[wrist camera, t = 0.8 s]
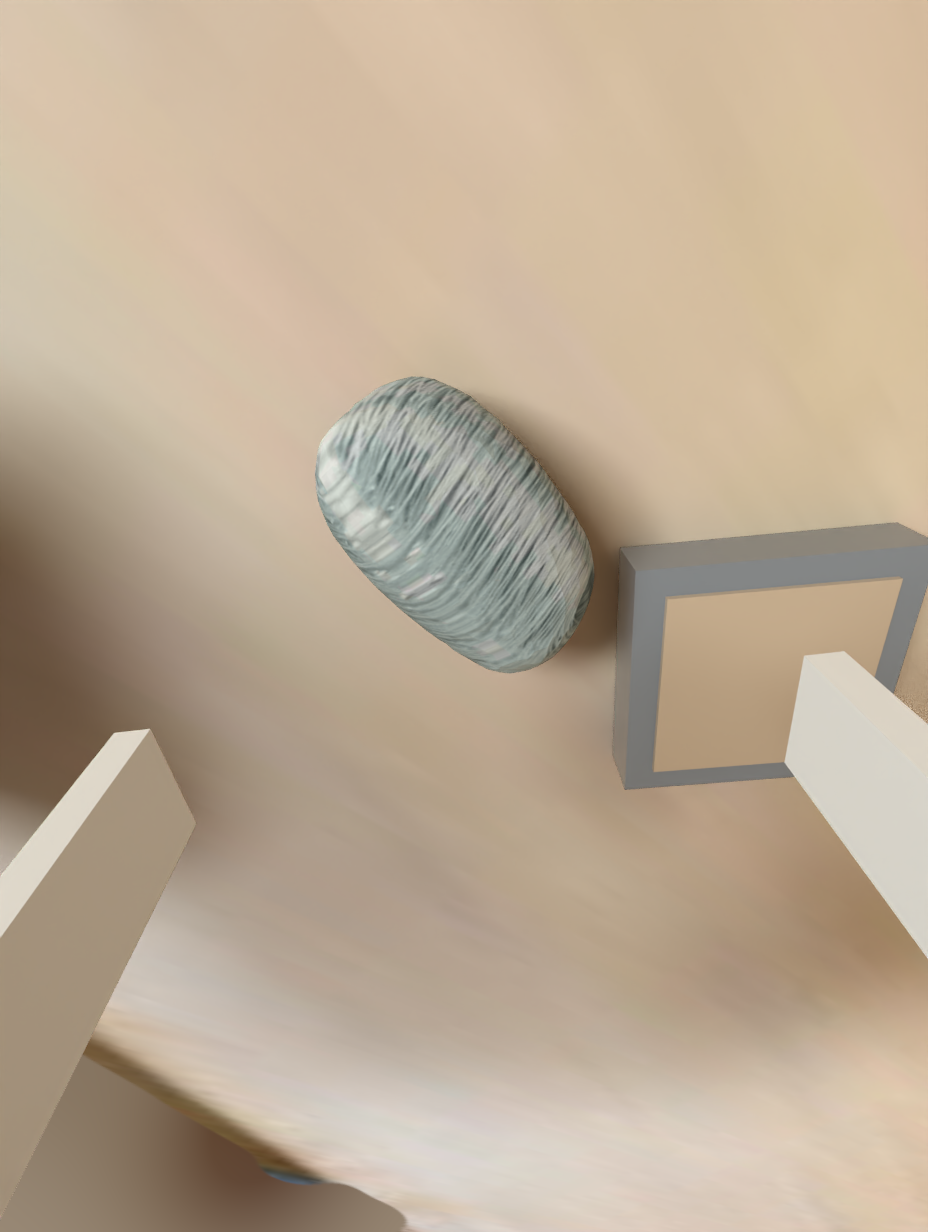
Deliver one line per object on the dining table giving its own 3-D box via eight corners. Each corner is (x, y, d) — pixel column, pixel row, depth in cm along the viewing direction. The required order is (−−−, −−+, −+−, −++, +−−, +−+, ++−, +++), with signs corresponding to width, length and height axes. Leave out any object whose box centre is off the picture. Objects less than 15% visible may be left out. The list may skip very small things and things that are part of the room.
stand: (612, 754, 36) (626, 793, 33) (619, 547, 30) (637, 573, 27) (838, 737, 36) (872, 774, 33) (896, 522, 29) (945, 546, 26)
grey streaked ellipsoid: (666, 569, 27) (594, 695, 20) (517, 630, 33) (423, 742, 26) (505, 305, 25) (358, 338, 17) (379, 426, 31) (234, 486, 24)
